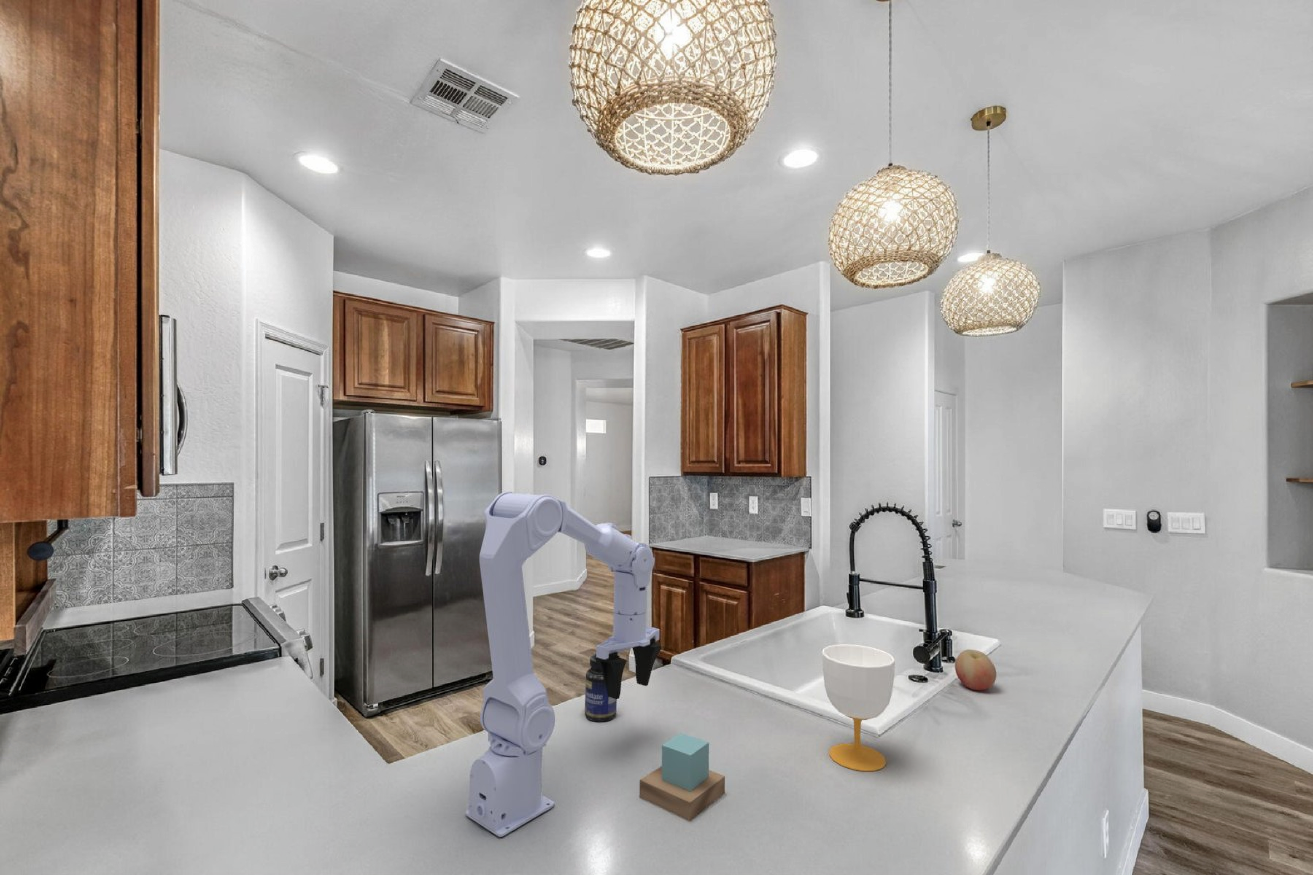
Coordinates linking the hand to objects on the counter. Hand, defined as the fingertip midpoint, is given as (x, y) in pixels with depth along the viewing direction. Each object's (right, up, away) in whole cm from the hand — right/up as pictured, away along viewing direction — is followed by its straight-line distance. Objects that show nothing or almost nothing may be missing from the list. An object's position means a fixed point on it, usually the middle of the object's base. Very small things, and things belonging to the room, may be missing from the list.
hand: (628, 690), depth 102 cm
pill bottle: (-6, -10, +12) cm, 16 cm away
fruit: (+76, -12, +30) cm, 83 cm away
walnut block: (+9, -10, -15) cm, 20 cm away
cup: (+39, -10, -3) cm, 40 cm away
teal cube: (+9, -7, -15) cm, 19 cm away
